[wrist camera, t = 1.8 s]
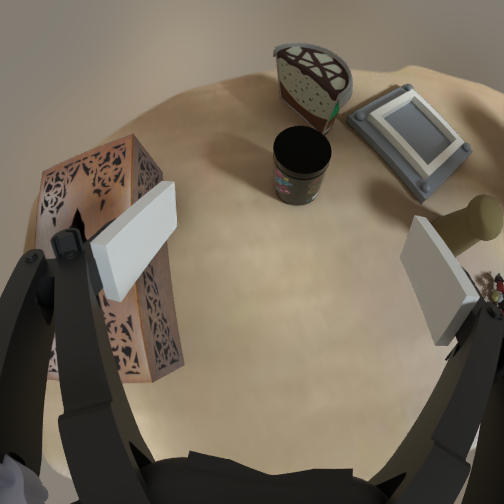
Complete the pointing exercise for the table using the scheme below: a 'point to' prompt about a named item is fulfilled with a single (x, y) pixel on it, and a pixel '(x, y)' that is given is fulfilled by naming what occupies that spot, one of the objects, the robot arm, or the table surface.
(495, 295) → the toy collection
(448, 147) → the base plate
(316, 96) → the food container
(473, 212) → the cork
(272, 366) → the table surface
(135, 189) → the tissue box cover
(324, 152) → the supplement container
